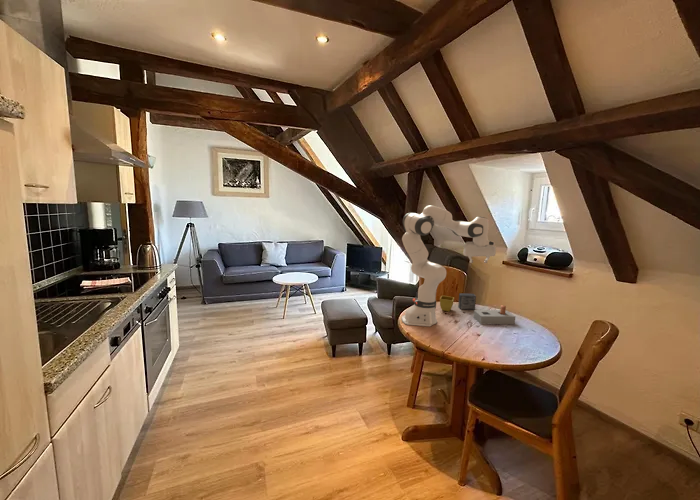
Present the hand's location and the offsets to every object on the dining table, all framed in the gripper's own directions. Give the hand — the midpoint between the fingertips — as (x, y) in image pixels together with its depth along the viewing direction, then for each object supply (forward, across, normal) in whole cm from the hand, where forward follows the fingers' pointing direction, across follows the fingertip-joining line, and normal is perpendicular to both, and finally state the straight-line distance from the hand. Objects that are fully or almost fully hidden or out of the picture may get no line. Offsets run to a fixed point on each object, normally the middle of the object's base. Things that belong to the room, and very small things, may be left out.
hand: (478, 262), depth 206 cm
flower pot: (+37, -15, +12) cm, 42 cm away
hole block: (+37, +10, -7) cm, 39 cm away
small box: (+37, +1, +16) cm, 41 cm away
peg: (+37, +15, -7) cm, 41 cm away
